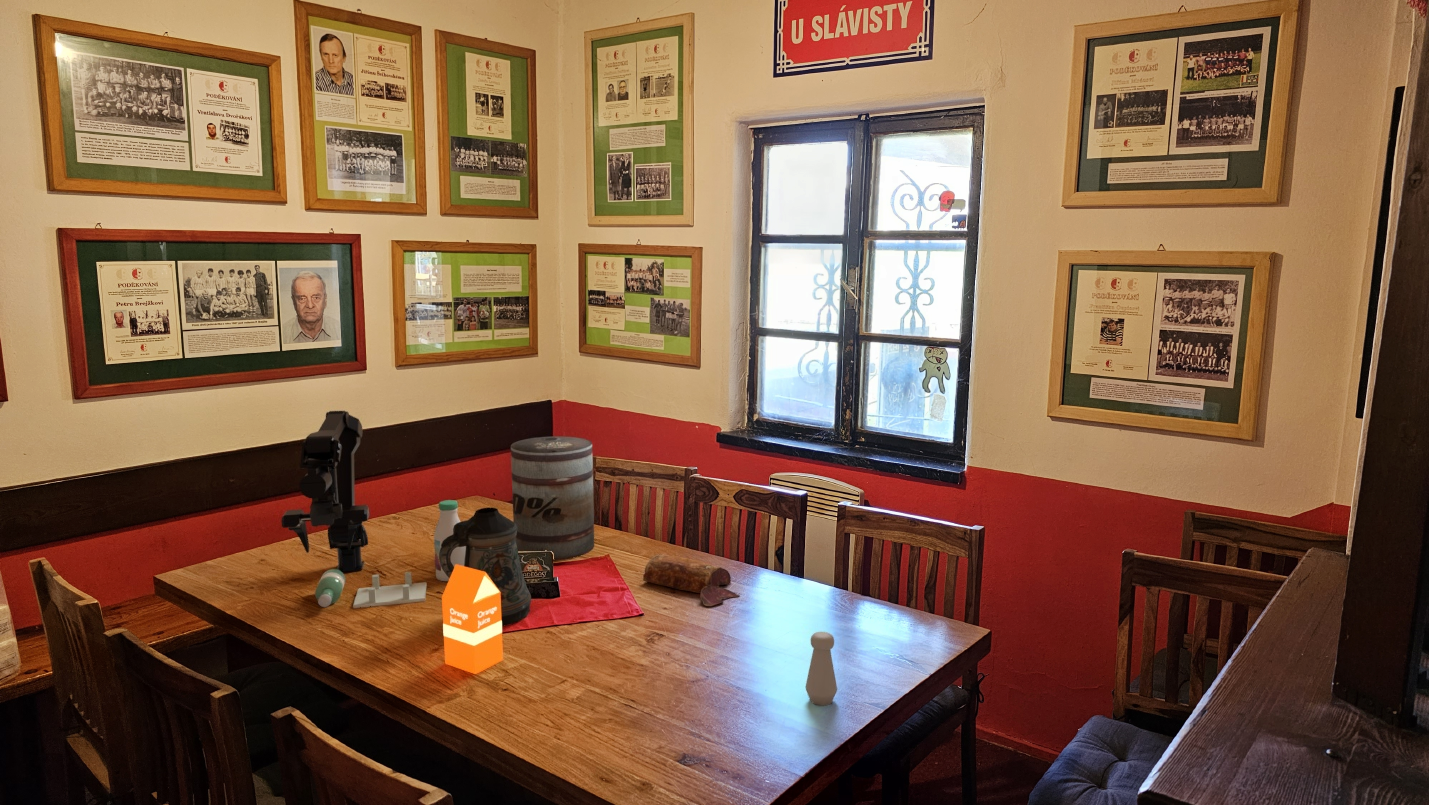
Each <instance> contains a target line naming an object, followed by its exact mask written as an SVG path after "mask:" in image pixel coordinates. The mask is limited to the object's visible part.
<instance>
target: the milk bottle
mask: <svg viewBox="0 0 1429 805" xmlns="http://www.w3.org/2000/svg"><path fill="white" fill-rule="evenodd" d="M458 507H459V506H458V501H457V500H452V499H448V500H442V501H440V502H439V503H438V511H439V517H438V521H437V523H436V526H435V528H434V529H435V530H434V536H433V538H434V541H433V543H434V561H435V562H434V566H435V577H436V579H437V580H438V581H441V582H448V581H449V579H450V578H449V577H448V576H447V575H446V574H445V572H444V571H443V569H442V567H441V565H440V561H439V552H440V548H441V544H442V542H443V541H444V540H445V539H446V538H447V537H448V536H451V535H453V528H454V525H456V524H457V523H459V522H462V521H461V520H460V518H459V515H458V510H459V509H458ZM465 551H466V546H464V547H456V548H455V549H454V550H453V551H452V554H451V558H450V559H451V563H452V564H453V566H454V567H455V565H456V564H457V565H461V566H464V561H465Z"/></svg>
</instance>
